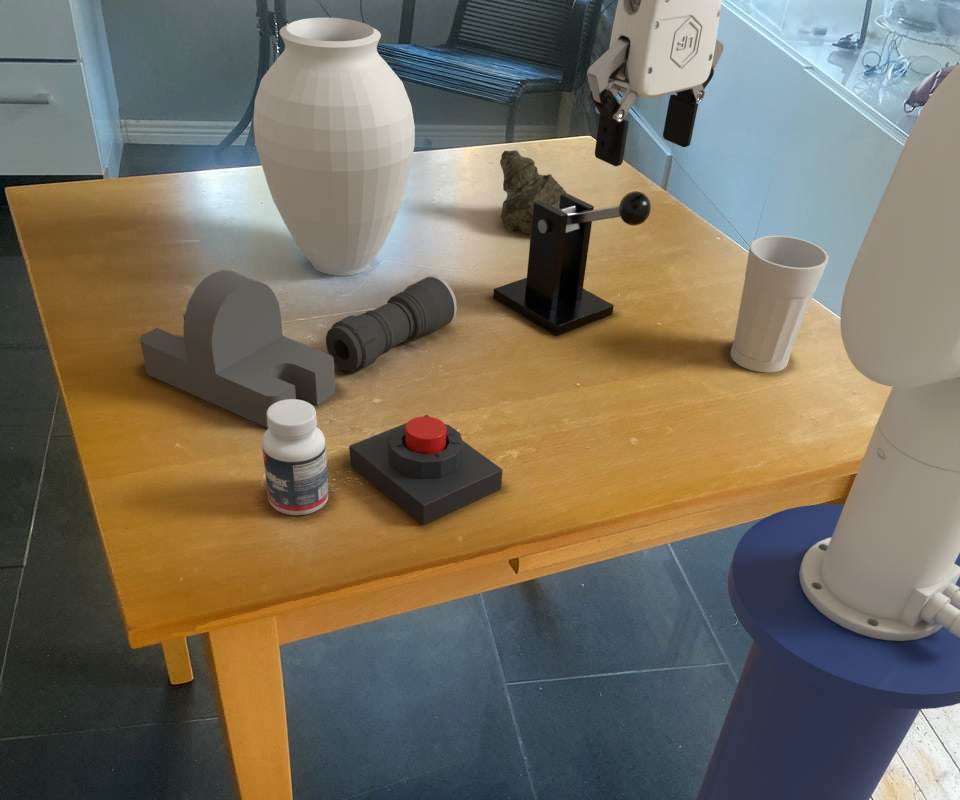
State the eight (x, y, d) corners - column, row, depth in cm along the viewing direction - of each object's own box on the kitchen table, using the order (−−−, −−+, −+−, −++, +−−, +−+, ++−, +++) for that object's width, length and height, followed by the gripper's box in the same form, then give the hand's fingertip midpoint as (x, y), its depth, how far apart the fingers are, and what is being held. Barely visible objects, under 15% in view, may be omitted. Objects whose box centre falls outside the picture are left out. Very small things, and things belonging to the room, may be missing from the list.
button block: (501, 489, 89) (504, 452, 86) (423, 525, 85) (423, 488, 82) (426, 434, 95) (427, 397, 92) (349, 465, 90) (348, 428, 88)
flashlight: (359, 383, 101) (357, 334, 97) (322, 364, 103) (318, 316, 99) (456, 331, 109) (457, 285, 106) (420, 315, 112) (420, 268, 108)
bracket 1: (208, 335, 106) (193, 236, 98) (340, 390, 100) (335, 288, 92) (141, 371, 100) (119, 268, 92) (277, 432, 94) (266, 326, 86)
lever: (659, 220, 100) (654, 186, 99) (638, 227, 98) (633, 192, 97) (566, 234, 111) (561, 203, 109) (545, 240, 109) (540, 209, 108)
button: (454, 446, 87) (454, 429, 86) (422, 460, 85) (422, 443, 84) (429, 428, 89) (429, 411, 88) (397, 441, 87) (397, 424, 86)
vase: (442, 274, 119) (448, 41, 102) (314, 309, 111) (298, 62, 94) (363, 222, 129) (357, 1, 111) (241, 251, 121) (213, 17, 103)
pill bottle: (258, 492, 87) (246, 404, 81) (310, 474, 89) (303, 387, 83) (285, 524, 84) (276, 435, 78) (339, 505, 86) (334, 417, 80)
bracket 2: (612, 314, 114) (628, 212, 106) (556, 336, 110) (569, 231, 102) (548, 279, 120) (559, 179, 112) (492, 298, 116) (499, 195, 107)
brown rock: (529, 152, 134) (471, 163, 129) (585, 123, 124) (524, 134, 119) (550, 238, 137) (494, 252, 132) (606, 216, 127) (548, 230, 123)
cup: (741, 378, 106) (770, 270, 97) (711, 342, 111) (737, 237, 103) (807, 373, 107) (842, 266, 99) (775, 337, 113) (806, 233, 104)
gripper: (641, -40, 78) (608, 182, 90) (775, -58, 86) (728, 147, 98) (575, -60, 82) (552, 156, 94) (710, -76, 90) (673, 125, 102)
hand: (642, 151), depth 96 cm, fingers open, 9 cm apart
